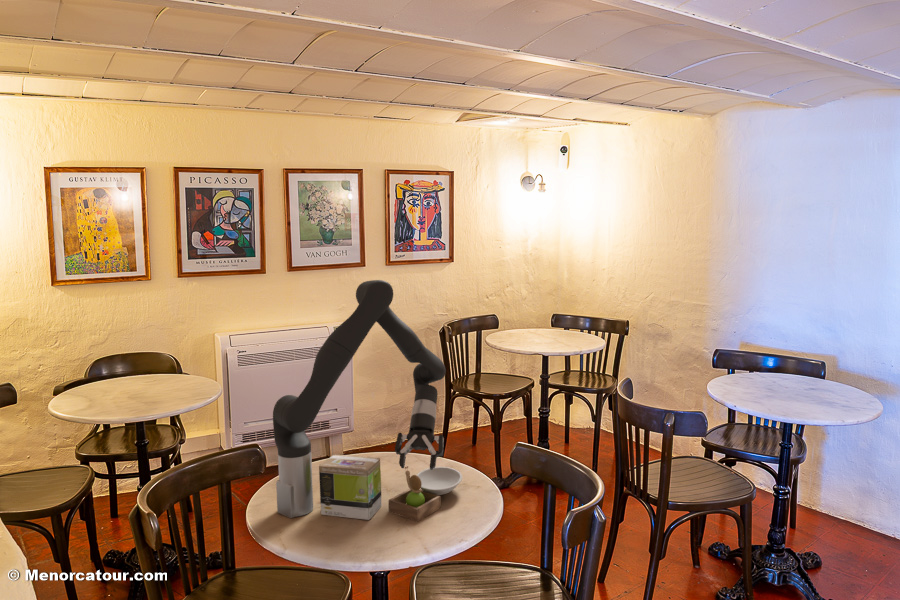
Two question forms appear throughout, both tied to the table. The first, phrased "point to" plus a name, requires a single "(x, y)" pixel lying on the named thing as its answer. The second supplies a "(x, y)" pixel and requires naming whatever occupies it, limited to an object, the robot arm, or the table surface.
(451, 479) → the dish
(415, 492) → the snail figurine
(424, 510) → the brown wooden square tray
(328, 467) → the tea box
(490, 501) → the table surface
